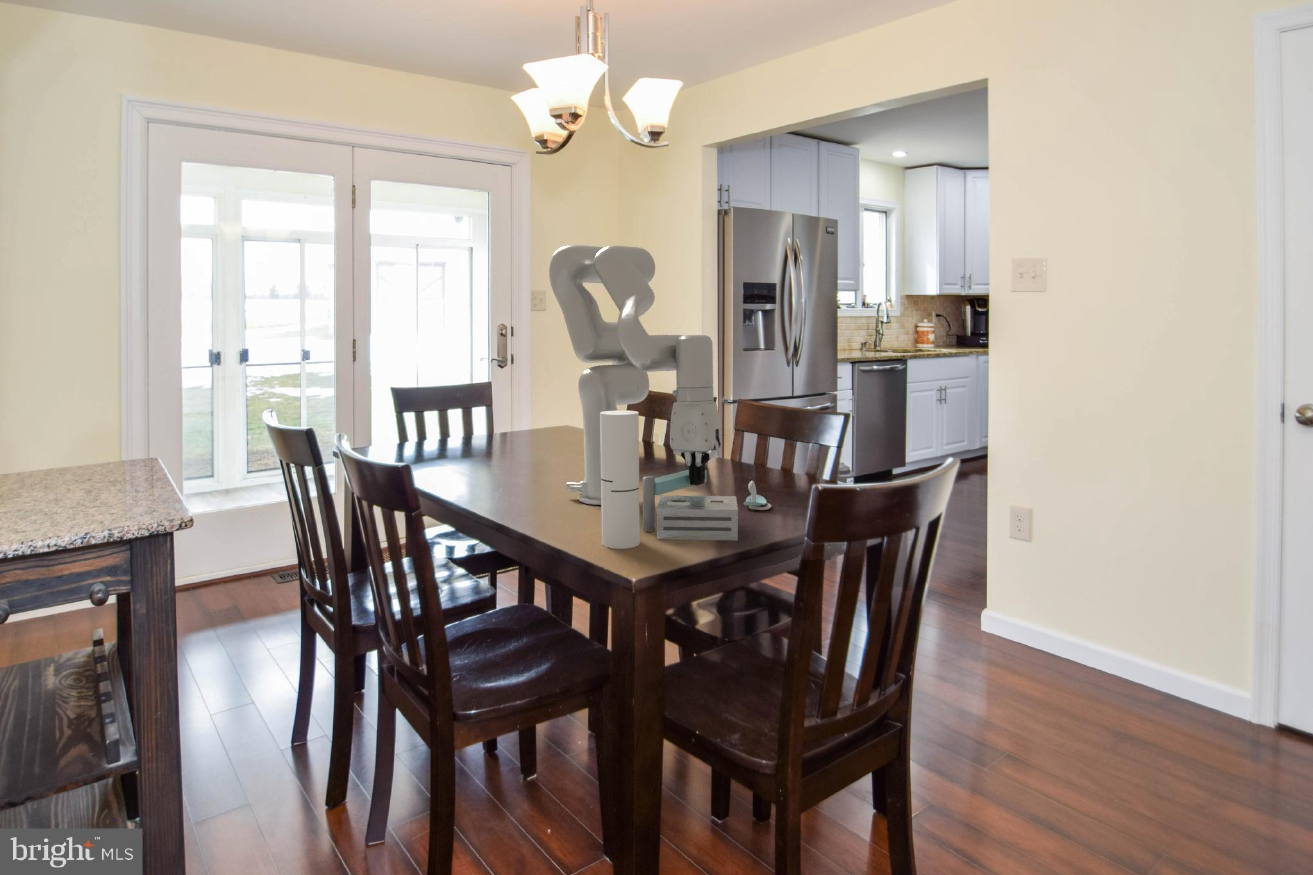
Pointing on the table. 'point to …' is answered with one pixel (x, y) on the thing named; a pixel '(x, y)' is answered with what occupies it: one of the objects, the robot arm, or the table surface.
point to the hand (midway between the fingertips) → (697, 484)
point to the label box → (697, 518)
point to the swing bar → (659, 487)
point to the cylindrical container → (620, 478)
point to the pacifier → (755, 499)
